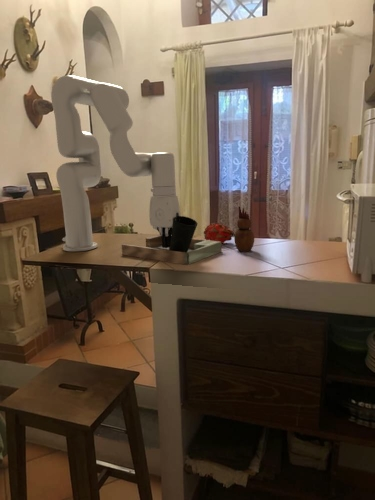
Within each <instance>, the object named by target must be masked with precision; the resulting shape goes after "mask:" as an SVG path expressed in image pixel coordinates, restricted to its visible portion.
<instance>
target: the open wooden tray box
mask: <svg viewBox="0 0 375 500" xmlns="http://www.w3.org/2000/svg"><path fill="white" fill-rule="evenodd" d="M222 252H223V251H222V244H221V242H220V241H211V240H206V239H199V238H192V241H191V243H190V246H189V249H188V251H187V253H185V252H178V251H171V250H170V247H168V248H162V237H161V236H160V234H158V235H153V236H148V237H145V246H140V245H133V244H127V243H126V244H125V243H122V244H121V253H122V256H123V255H124V256H128V257H137V258H141V259H148V260H154V261H159V262H160V261H161V262H168V263H172V264H173V263H174V264H179V265H186V266H188V265H191V264H194V263H196V262H199V261H200V260H203V259H204V260H205V259H206V258H209V257H212V256H214V255H216V254H219V253H222Z"/></svg>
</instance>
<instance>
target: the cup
mask: <svg viewBox="0 0 375 500" xmlns="http://www.w3.org/2000/svg"><path fill="white" fill-rule="evenodd" d="M177 221H178V222H177ZM197 226H198V222H197V220H196V219H193V218H191V217H188V216H184V215H183V216H182V215H180V216H176V217H174V221H173V229H172V235H171V243H170V250H171V251H178V252H185V253H187V251H188V249H189V246H190V243H191V241H192V238H193V237H194V234H195V232H196V230H197ZM193 239H194V238H193Z"/></svg>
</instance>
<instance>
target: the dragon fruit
mask: <svg viewBox="0 0 375 500" xmlns="http://www.w3.org/2000/svg"><path fill="white" fill-rule="evenodd" d="M203 234H204V235H203V236H204V237H203V238H204V239H203V240H211V241H220V242H221V245H222V244H224V245H228V242H229V241H232V240H233V239H232V237H235V232H234V231H233V230H232V229H229V228H228V227H227V226H226V225H223V223H219V222H217V223H216V222H214V223H210V224H208V225H206V227H205V228H204V231H203Z"/></svg>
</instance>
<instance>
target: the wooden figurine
mask: <svg viewBox="0 0 375 500" xmlns="http://www.w3.org/2000/svg"><path fill="white" fill-rule="evenodd" d="M236 222H237V223H236V227H237V228H238V229H236V231H235V232H234V234H235V236H233V237H234V245H235V248H236V249H237V250H238V251H239V252H243V253H245V252H251V251H252V249H253V248H254V244H255V233H254V231H253V230H251V227H252V221H251V219H250V216H249V213H247V211H245V208H244V207H243V208H241V206H238V219H237V221H236Z"/></svg>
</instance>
